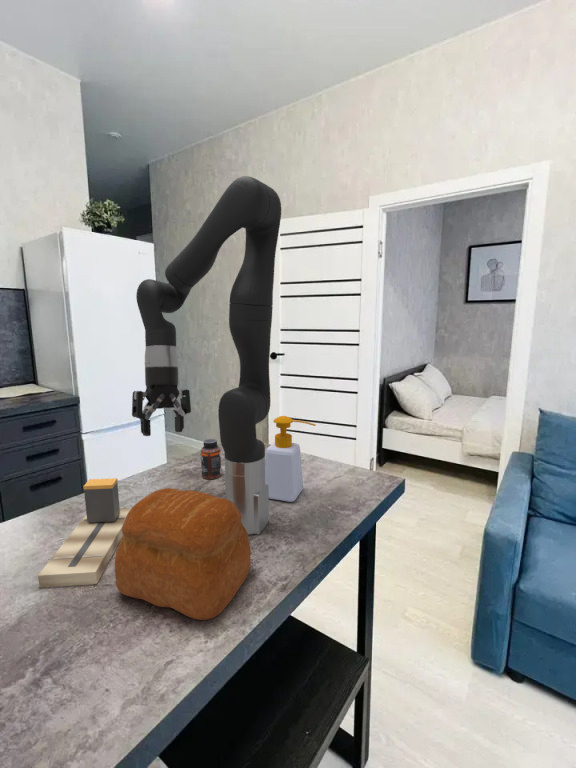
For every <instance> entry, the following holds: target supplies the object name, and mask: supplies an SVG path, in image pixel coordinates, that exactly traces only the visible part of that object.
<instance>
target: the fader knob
mask: <svg viewBox="0 0 576 768" xmlns="http://www.w3.org/2000/svg"><path fill="white" fill-rule="evenodd" d="M118 482H119V481H118V477H117V478H114V477H113V478H93V479H91V478H90V479H89V480H88V481H86V483H85V484H84V485H83V494H84V502H85V511H86V512H85V513H86V514H87V523H91V522H111V521H116V519H117V517H118V516H119V514H120V499H119V498H120V497H119V487H118V486H119V484H118ZM86 514H85V515H86Z"/></svg>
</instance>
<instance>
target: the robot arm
mask: <svg viewBox="0 0 576 768" xmlns="http://www.w3.org/2000/svg"><path fill="white" fill-rule="evenodd" d="M281 218H282V201H281V199H280V196H279V194H278V193H277V192H276V190H275V189H273V188H272V187H270V186H269V185H268V184H265V182H262V181H260V180H259V179H258V178H257V179H256V178H255V177H253V176H248V175H243V176H239V177H238V178H236V179H234V180H232V182H231V183H230V184H229V185H228V186H227V188H226V189H225V191H224V192H223V194H221V197H220V198H219V199H218V202H217V203H216V204H215V205H214V207H213V209H212V210H211V212H210V213H209V214H208V216H207V218H206V219H205V220H204V222H203V223H202V225H201V227H200V228H199V229H198V231H197V232H196V234H195V235H194V236H193V238H192V239H191V240H190V241H189V242H188V244H187V245H186V246H185V247H184V248H183V249H182V250H181V251H180V252H179V254H178V255H177V256H176V257H175V258H173V260H172V261H170V263H169V264H168V265H167V266H166V268H165V271H164V275H165V278H166V280H167V282H168V283H167V282H162V281H160V280H156V279H150V278H149V279H144V280H142V281H141V282H140V283H139V284H138V286H137V289H136V294H135V296H136V303H137V307H138V310H139V314H140V316H141V321H142V324H143V327H144V330H145V332H144V335H145V336H144V337H145V338H144V339H145V340H144V342H145V351H144V375H145V376H144V380H145V381H144V383H145V387H146V388H145V391H142V390H134V391H133V392H132V398H131V399H132V401H131V403H132V404H131V405H132V407H131V416H132V417H133V418H136V419H139V420H140V433H141V434H142V436H144V437H150V436H151V434H152V433H151V432H152V431H151V419H150V418H151V416H152V415H153V414H154V412H156V411H157V409H158V410H160V409H161V410H162V409H169V410H171V411H172V413H173V414H174V432H176V433H182V432H183V430H184V429H185V424H184V423H185V421H184V420H185V419H184V417H185V415H187V414H190V413H191V412H192V409H191V407H192V406H191V397H190V395H191V394H190V393H191V392H190V390H189V389H183V388H182V389H179V388H178V386H179V356H178V349H177V330H176V329H177V328H176V325H175V324H174V323H173V322H170V321H168V320H167V319H165V317H164V314H173V313H175V312H177V311H179V310H180V309H181V308H182V307H183V305H184V303H185V301H186V299H187V298H188V296H189V295H190V292H191V290H192V288H193V287H194V286H196V284H198V283H199V282H200V281H201V280H202V279H203V278H204V277H205V276H206V275H207V274H208V273H209V272H210V270H211V269H212V267H213V266H214V265H215V264H214V263H215V262H216V259H217V256H218V254H219V252H220V250H221V247H222V246H223V245H224V243H225V242H226V241H228V239H229V238H231V236H233V235H234V234H235V233H237V232H238V231H239V230H241V229H244V230H245V246H244V247H245V249H244V257H243V261H242V264H241V266H240V269H239V271H238V273H237V275H236V277H235V279H234V283H233V285H232V287H231V291H230V294H229V305H228V306H229V307H228V309H229V310H228V312H229V313H228V325H229V326H228V327H229V332H230V335H231V338H232V341H233V344H234V346H235V350H236V351H237V355H238V359H239V368H240V369H239V383H238V387H235V388H232V389H229V390H227V391H226V392H225V393H223V394H222V396H221V397H220V399H219V403H218V412H217V413H218V415H217V416H218V427H219V440H220V444H221V447H222V449H223V453H224V482H225V483H224V484H225V487H224V488H225V489H224V490H225V499H227V500H229V501H231V502H232V503H233V504H234V505H235V506H236V508H237V509H238V510H239V511H240V513H241V515H242V519H241V522H242V524H243V526H244V528H245V529H246V531H247V533H248V536H249V535H261V532H262V531H263V530H264V528H265V527H266V526H267V525H268V523H269V522H270V521H269V520H270V511H269V510H270V508H269V507H270V506H269V502H270V501H269V499H270V498H269V486H268V485H267V484H265V460H266V446H265V443H264V442H263V441H262V440H261V439H258V438H257V429H256V428H257V427H256V426H257V424H259V423H261V422H262V421H264V420H265V419H266V418H267V416H268V415H269V412H270V410H271V409H270V408H271V384H270V382H271V381H270V353H271V338H272V337H271V334H272V330H271V329H272V323H273V322H272V321H273V309H274V308H273V306H274V300H273V299H274V298H273V297H274V294H273V293H274V284H275V283H274V281H275V264H276V252H277V246H278V240H279V239H278V238H279V233H280V226H281V220H282V219H281ZM163 313H164V314H163ZM178 398H179V399H180V401H178ZM145 399H146V400H147V402H146V403H145V405H143V404H144V403H143V402H144V400H145Z"/></svg>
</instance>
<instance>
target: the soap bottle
mask: <svg viewBox="0 0 576 768" xmlns="http://www.w3.org/2000/svg"><path fill="white" fill-rule="evenodd" d="M273 423H275V427H276V428H278V429H279V431H280V432H278V433H276V434H275V435H274V442H273V443H272V444H271V445H269V446H268V447H267V449H266V450H265V484H267V485H268V486H269V499H271V500H277V501H283V502H289V503H291V502H295V501H296V500H297V498H298V496H299V495H300V494H301V492H302V491H303V489H304V480H303V466H302V454H301V447H300V444H299V443H297V442H296V443H295V442H292V441H293V440H292V439H293V435H292V434H291V433H288V432H287V429H289V428H290V427H291V424H292V423H300V424H301V423H302V424H306V425H310V426H314V427H316V425H317V424H316V423H312V422H310V421H303V420H297V419H293V418H292V417H289V416H287V415H281V416H278V417H275V418H274V419H273Z"/></svg>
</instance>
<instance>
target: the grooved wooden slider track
mask: <svg viewBox="0 0 576 768" xmlns="http://www.w3.org/2000/svg"><path fill="white" fill-rule="evenodd" d="M119 508H120V507H119ZM131 509H132V507H124V508H120V514H119V516H118V517H117V519H116V521H111V522H91V523H87V514H85V516H84V517H83V518H82V520H80V522H78V524H77V526H76V527H75V528H74V529H73V531H72V532H71V533H70V535H68V536H67V538H66V539H65V540H64V542H63V543H62V544H61V546H60V547H59V549H58V550H57V551H55V553H54V555H53V556H52V557H51V558H50V560H49V561H48V562H47V563H46V565H45V566H44V567H43V569H42V570H41V571H40V572H39V574H38V575H37V578H38V586H39V589H40V588H42V589H45V588H54V587H55V588H56V587H58V588H59V587H73V586H86V585H88V586H90V585H97V584H98V582H99V581H100V579H101V577H102V575H103V574H104V572H105V570H106V569H107V566H108V564H110V563H109V562H110V561H111V559H112V558H113V555H114V553H116V551H117V549H118V547H119V545H120V542H121V540H122V537H123V533H122V527H123V523H124V521H125V519H126V516H127V514H128V512H129V511H130V510H131Z"/></svg>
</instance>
